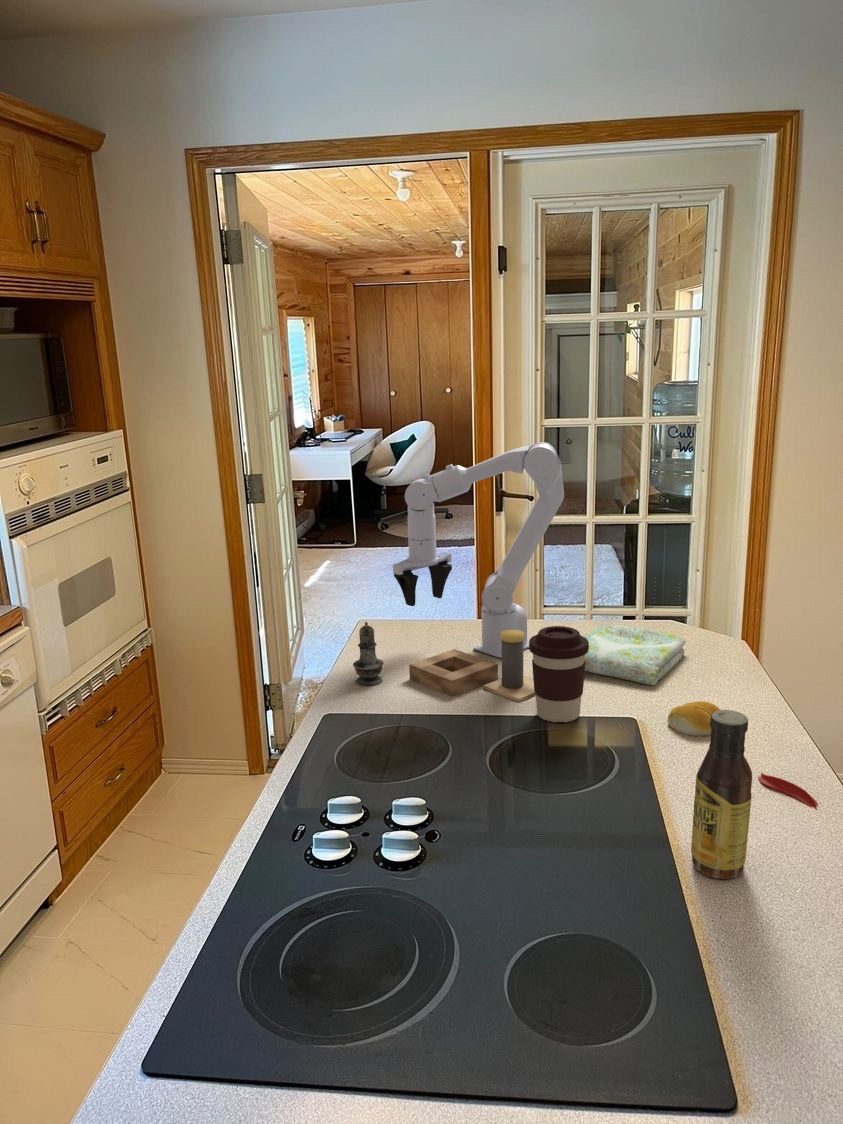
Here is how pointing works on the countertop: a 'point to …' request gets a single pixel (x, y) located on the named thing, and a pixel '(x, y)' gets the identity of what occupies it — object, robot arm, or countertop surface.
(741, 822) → the sauce bottle
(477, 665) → the wooden square frame
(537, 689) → the coffee cup
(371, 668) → the salt shaker
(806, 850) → the countertop surface
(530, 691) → the coaster
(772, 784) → the cayenne pepper
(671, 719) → the bread roll
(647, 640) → the towel
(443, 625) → the countertop surface
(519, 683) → the plug
